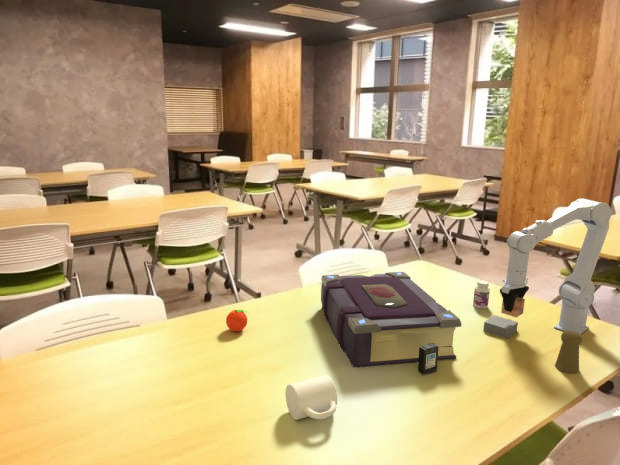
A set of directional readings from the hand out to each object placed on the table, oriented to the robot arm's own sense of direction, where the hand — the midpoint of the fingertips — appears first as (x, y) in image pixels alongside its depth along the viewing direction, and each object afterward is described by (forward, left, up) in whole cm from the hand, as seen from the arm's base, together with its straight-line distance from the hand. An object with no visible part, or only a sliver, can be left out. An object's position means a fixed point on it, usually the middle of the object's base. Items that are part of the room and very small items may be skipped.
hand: (512, 308), depth 151 cm
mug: (+79, -10, -9) cm, 80 cm away
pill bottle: (-14, -18, -9) cm, 24 cm away
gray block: (+1, -3, -9) cm, 9 cm away
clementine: (+67, -60, -9) cm, 90 cm away
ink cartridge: (+42, -4, -9) cm, 43 cm away
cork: (+10, +21, -9) cm, 25 cm away
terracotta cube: (0, 0, -2) cm, 2 cm away
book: (+31, -29, -9) cm, 44 cm away
